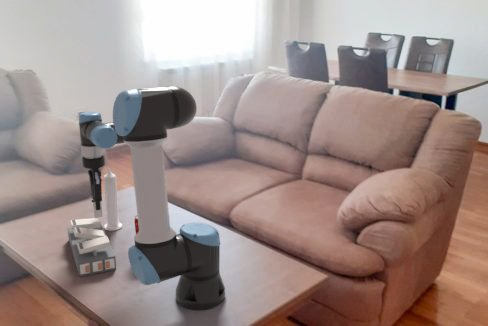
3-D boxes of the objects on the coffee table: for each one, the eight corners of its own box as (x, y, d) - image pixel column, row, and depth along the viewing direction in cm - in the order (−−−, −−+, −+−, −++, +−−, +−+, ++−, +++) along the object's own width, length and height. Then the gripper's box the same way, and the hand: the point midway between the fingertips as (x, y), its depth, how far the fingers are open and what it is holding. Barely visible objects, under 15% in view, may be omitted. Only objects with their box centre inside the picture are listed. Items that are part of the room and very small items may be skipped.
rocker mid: (104, 240, 174) (105, 235, 173) (75, 237, 169) (76, 232, 169) (101, 234, 178) (102, 230, 178) (73, 231, 173) (74, 226, 173)
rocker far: (100, 227, 181) (100, 222, 181) (72, 229, 177) (72, 225, 176) (98, 221, 186) (98, 217, 185) (70, 224, 181) (70, 219, 181)
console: (116, 270, 166) (115, 252, 164) (79, 277, 161) (77, 259, 159) (101, 234, 190) (100, 219, 188) (68, 240, 185) (67, 224, 183)
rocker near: (110, 245, 166) (109, 241, 165) (79, 254, 162) (78, 249, 161) (107, 239, 170) (106, 235, 169) (77, 247, 166) (76, 243, 165)
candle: (126, 226, 198) (122, 167, 190) (112, 232, 192) (108, 172, 184) (113, 221, 201) (109, 163, 194) (100, 228, 196) (95, 168, 188)
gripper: (107, 159, 171) (112, 221, 178) (100, 149, 182) (105, 208, 189) (84, 161, 168) (90, 225, 175) (79, 151, 179) (85, 212, 186)
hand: (98, 216), depth 182 cm, fingers closed
